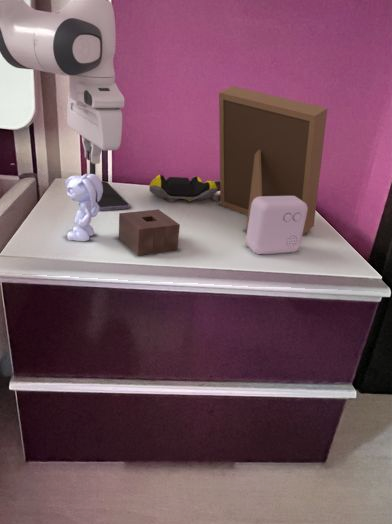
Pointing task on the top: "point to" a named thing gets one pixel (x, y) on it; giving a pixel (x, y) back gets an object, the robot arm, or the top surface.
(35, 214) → the top surface
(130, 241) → the pen block
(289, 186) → the photo frame
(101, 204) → the smartphone
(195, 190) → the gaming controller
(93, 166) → the stylus
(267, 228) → the electronic device
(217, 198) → the wristwatch
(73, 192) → the toy figurine
